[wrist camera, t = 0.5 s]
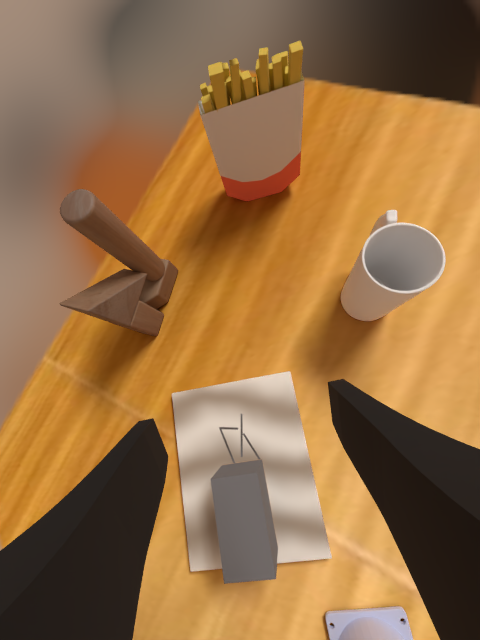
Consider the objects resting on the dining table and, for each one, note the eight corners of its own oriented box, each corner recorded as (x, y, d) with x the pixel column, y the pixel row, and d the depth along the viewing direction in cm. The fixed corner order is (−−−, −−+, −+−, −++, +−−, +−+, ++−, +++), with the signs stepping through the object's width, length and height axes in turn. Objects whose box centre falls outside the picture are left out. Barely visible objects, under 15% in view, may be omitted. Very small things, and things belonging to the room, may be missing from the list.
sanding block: (278, 546, 29) (275, 579, 25) (234, 551, 30) (224, 583, 25) (262, 458, 32) (257, 472, 27) (222, 464, 32) (210, 479, 27)
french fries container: (226, 183, 43) (183, 49, 26) (292, 163, 42) (294, 7, 24) (230, 206, 42) (189, 82, 24) (299, 187, 40) (306, 41, 23)
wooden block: (137, 331, 40) (20, 292, 22) (158, 266, 42) (66, 183, 24) (158, 337, 39) (54, 300, 22) (179, 270, 41) (99, 187, 24)
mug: (395, 323, 33) (450, 292, 22) (339, 323, 35) (364, 294, 23) (388, 251, 36) (435, 188, 24) (336, 253, 37) (357, 194, 25)
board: (330, 552, 29) (331, 558, 28) (193, 565, 31) (190, 571, 30) (290, 371, 34) (290, 371, 33) (174, 393, 36) (171, 393, 35)
